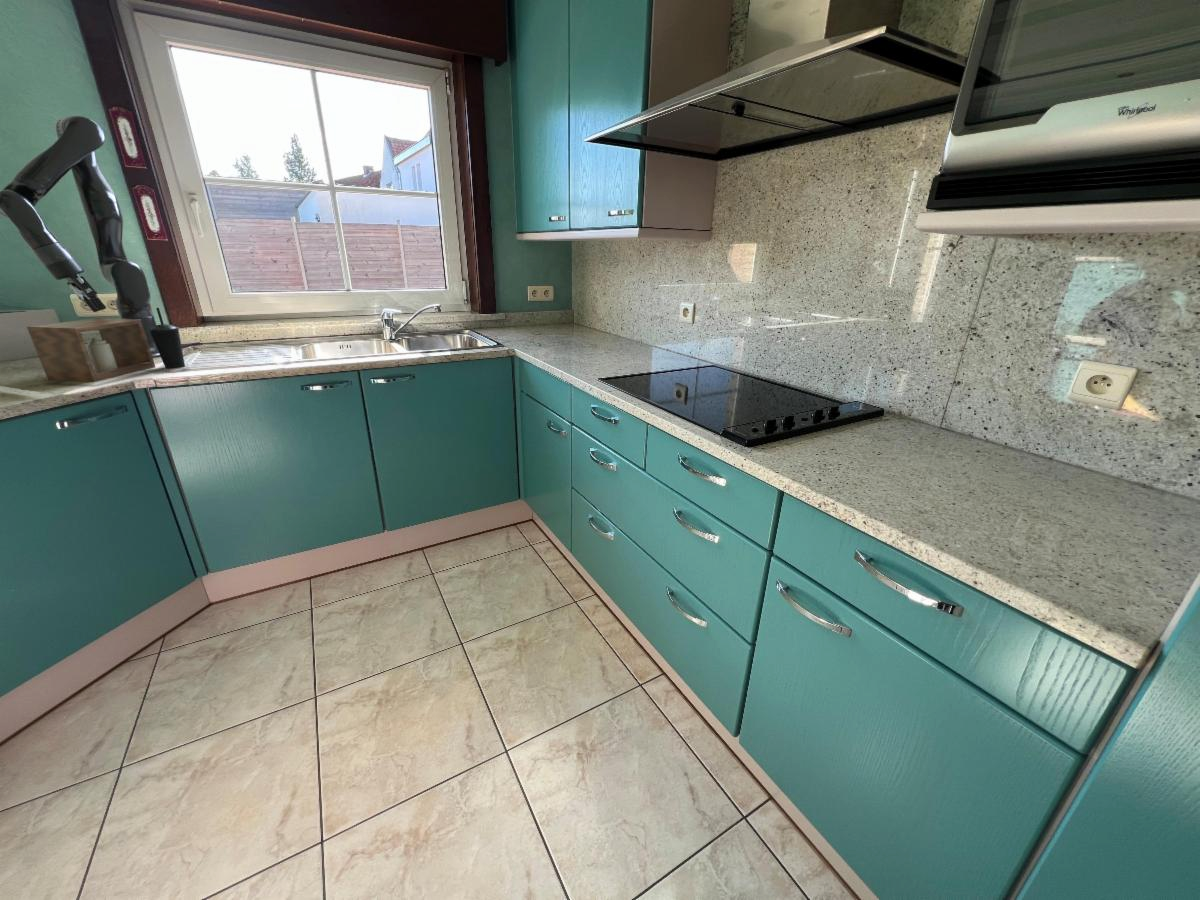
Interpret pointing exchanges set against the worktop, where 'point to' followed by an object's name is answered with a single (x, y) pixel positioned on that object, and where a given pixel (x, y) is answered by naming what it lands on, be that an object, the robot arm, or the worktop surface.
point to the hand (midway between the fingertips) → (100, 310)
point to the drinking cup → (168, 344)
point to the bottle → (101, 354)
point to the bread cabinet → (69, 355)
